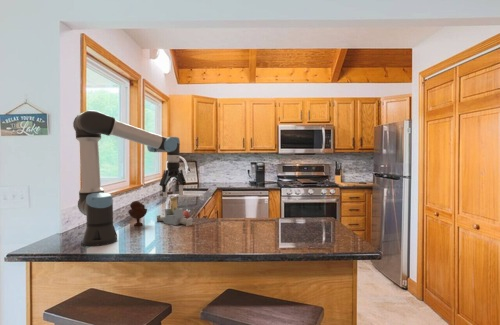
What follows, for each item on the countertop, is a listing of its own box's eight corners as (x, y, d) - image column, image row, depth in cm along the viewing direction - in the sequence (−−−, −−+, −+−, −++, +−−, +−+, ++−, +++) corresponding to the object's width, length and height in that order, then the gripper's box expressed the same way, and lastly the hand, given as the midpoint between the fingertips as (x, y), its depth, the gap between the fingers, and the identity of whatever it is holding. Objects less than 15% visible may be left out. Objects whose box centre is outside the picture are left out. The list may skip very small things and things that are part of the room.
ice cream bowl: (144, 227, 179) (143, 201, 179) (125, 227, 179) (124, 202, 179) (150, 223, 189) (149, 199, 189) (132, 223, 190) (132, 199, 189)
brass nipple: (174, 217, 187) (173, 198, 186) (169, 217, 189) (169, 197, 188) (178, 216, 190) (178, 197, 190) (174, 215, 192) (173, 196, 192)
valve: (185, 226, 180) (185, 211, 179) (154, 222, 193) (154, 208, 192) (201, 221, 192) (201, 207, 192) (172, 218, 206) (171, 204, 205)
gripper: (162, 162, 176) (162, 198, 176) (191, 162, 198) (191, 194, 198) (153, 162, 180) (153, 197, 180) (182, 161, 201) (182, 193, 202)
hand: (173, 196), depth 189 cm, fingers open, 13 cm apart
